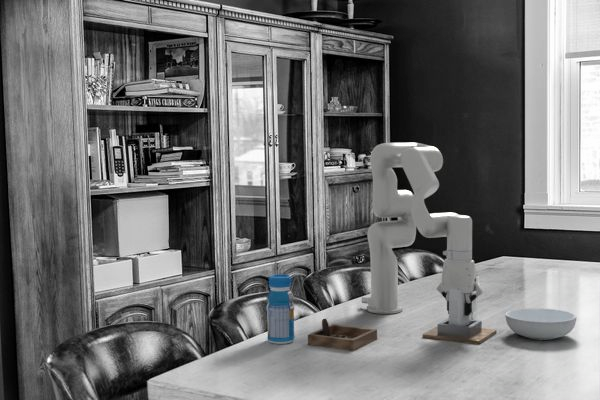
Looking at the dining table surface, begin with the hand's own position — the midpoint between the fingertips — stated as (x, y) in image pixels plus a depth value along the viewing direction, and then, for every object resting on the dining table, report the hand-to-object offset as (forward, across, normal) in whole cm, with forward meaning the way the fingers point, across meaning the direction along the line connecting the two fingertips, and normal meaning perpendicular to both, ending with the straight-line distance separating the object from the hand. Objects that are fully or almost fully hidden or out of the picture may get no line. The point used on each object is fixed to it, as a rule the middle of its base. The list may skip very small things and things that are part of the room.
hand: (459, 313), depth 253 cm
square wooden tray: (+7, -28, -24) cm, 37 cm away
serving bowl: (+7, +22, +10) cm, 25 cm away
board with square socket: (+7, 0, 0) cm, 7 cm away
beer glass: (+7, -5, +22) cm, 23 cm away
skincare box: (+4, 0, 0) cm, 4 cm away
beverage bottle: (+7, -45, -32) cm, 56 cm away
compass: (+7, -31, -24) cm, 39 cm away
